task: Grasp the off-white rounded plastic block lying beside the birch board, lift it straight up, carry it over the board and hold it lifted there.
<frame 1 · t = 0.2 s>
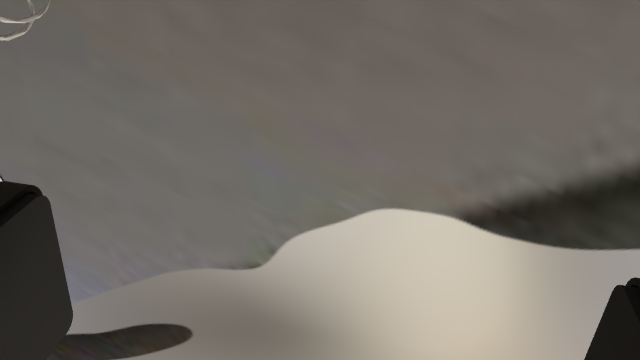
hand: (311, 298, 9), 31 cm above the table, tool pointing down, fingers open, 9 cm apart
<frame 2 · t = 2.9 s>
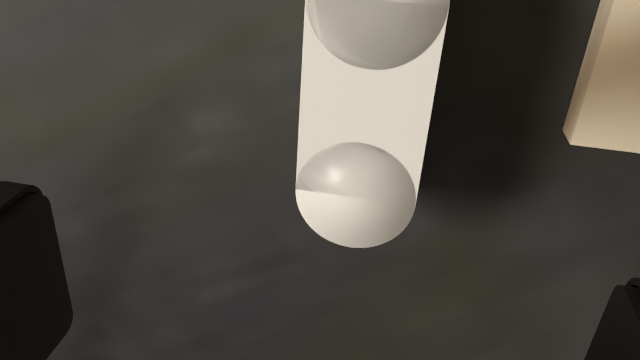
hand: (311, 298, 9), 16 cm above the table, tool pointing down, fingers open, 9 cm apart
rounded block: (377, 61, 24), on the table
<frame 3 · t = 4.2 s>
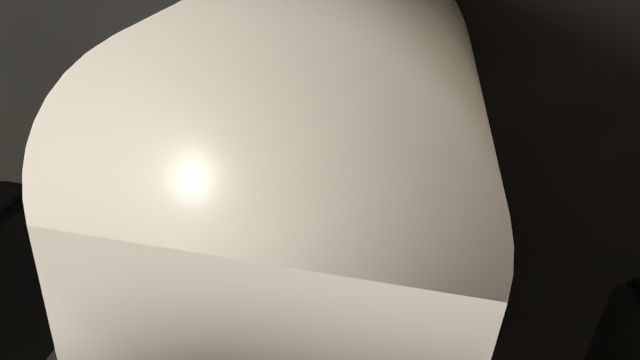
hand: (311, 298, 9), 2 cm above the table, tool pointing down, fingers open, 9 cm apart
rounded block: (327, 238, 11), on the table
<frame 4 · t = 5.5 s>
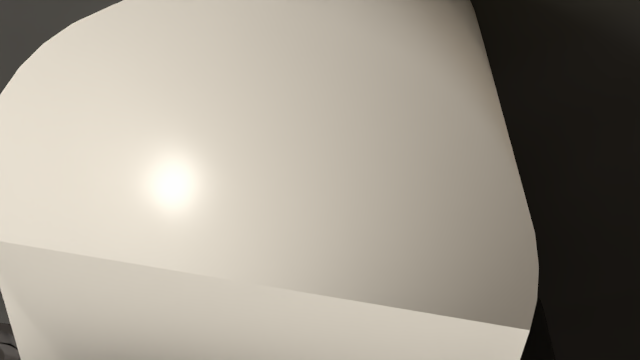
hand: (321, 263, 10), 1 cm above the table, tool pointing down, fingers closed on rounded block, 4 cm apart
rounded block: (327, 241, 11), on the table, touching gripper
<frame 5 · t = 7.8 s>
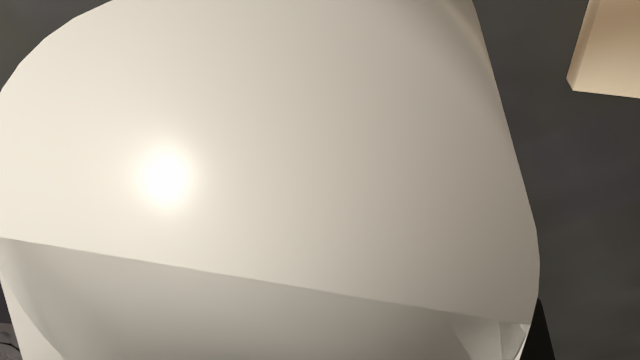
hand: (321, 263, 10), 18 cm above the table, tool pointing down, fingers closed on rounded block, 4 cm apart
rounded block: (327, 240, 11), point 17 cm above the table, touching gripper
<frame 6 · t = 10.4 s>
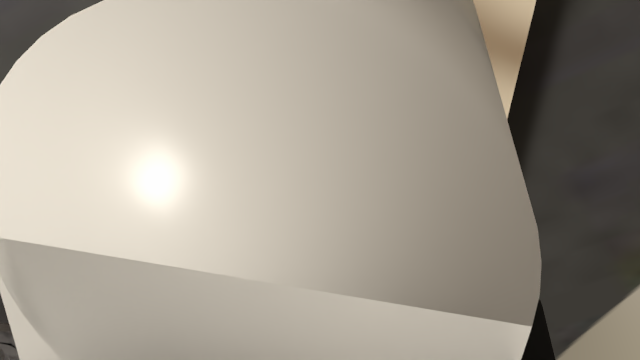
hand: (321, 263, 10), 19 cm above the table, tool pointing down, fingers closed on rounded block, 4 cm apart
birch board: (392, 16, 27), on the table
rounded block: (327, 240, 11), point 19 cm above the table, touching gripper
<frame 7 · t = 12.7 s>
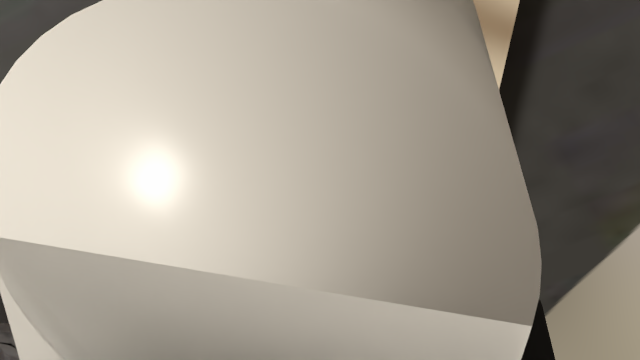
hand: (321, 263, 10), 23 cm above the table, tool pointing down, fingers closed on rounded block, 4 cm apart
rounded block: (327, 240, 11), point 23 cm above the table, touching gripper
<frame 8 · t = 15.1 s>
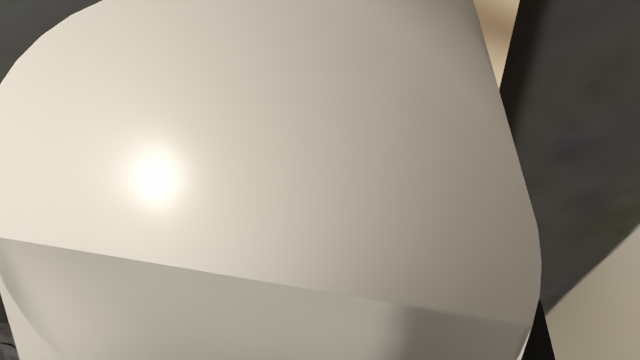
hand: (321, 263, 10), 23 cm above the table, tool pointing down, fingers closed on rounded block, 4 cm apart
rounded block: (327, 240, 11), point 23 cm above the table, touching gripper
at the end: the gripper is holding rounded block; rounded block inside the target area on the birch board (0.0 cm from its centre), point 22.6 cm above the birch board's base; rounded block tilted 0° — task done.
